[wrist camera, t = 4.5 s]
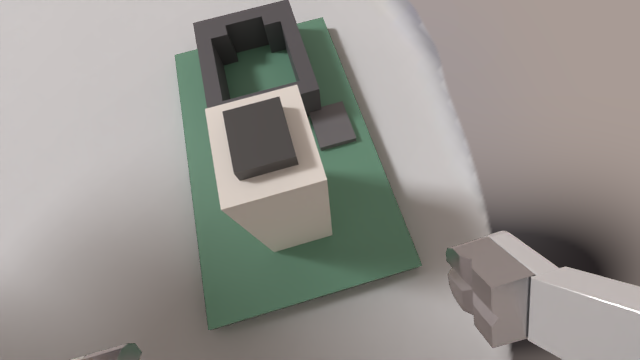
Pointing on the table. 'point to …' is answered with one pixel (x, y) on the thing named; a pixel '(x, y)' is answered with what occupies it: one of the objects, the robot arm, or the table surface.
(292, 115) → the plug
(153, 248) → the table surface
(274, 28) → the board
